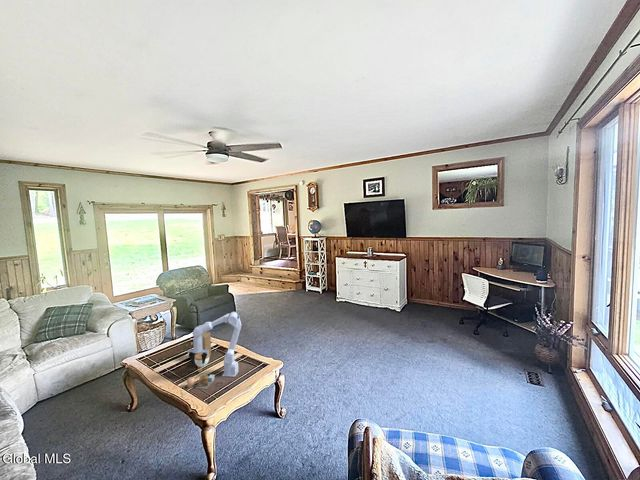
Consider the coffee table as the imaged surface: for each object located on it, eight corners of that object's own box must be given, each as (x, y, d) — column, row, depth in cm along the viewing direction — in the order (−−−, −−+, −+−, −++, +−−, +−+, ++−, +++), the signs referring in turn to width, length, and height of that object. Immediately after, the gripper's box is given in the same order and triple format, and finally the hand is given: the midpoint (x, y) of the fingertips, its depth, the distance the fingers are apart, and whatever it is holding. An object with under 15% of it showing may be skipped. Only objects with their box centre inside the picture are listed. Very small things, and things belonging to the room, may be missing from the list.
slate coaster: (212, 382, 191) (212, 381, 191) (206, 389, 183) (206, 388, 183) (201, 381, 192) (201, 381, 192) (194, 388, 184) (194, 387, 184)
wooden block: (211, 355, 231) (211, 332, 230) (206, 361, 221) (205, 336, 220) (199, 355, 231) (199, 331, 230) (193, 361, 221) (193, 336, 220)
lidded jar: (193, 369, 208) (193, 357, 208) (195, 362, 219) (195, 351, 218) (208, 367, 211) (208, 355, 211) (210, 361, 222) (210, 349, 221)
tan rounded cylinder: (195, 384, 189) (195, 377, 189) (192, 388, 185) (192, 380, 184) (189, 383, 190) (189, 376, 189) (186, 387, 185) (185, 380, 185)
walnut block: (207, 382, 191) (207, 374, 191) (207, 385, 186) (207, 378, 186) (199, 383, 189) (199, 376, 189) (199, 387, 185) (199, 380, 184)
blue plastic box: (214, 379, 196) (214, 374, 196) (211, 382, 192) (211, 377, 192) (210, 378, 196) (210, 374, 196) (207, 381, 192) (207, 377, 192)
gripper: (210, 342, 201) (211, 360, 201) (191, 341, 202) (191, 359, 203) (205, 346, 194) (206, 365, 194) (185, 345, 195) (186, 364, 196)
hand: (198, 363), depth 198 cm, fingers open, 7 cm apart
